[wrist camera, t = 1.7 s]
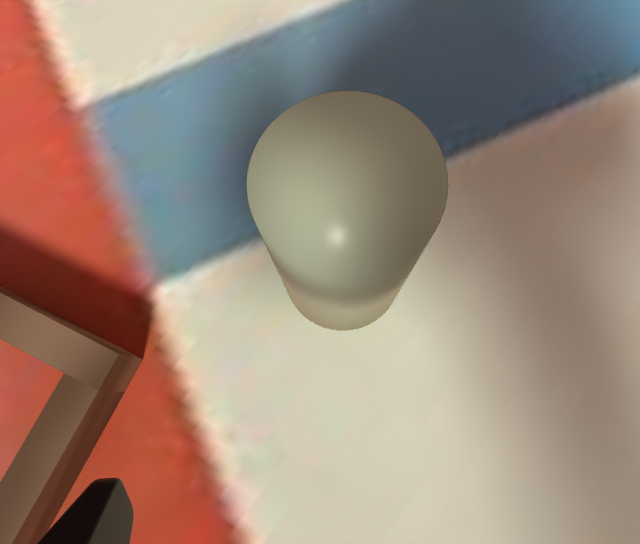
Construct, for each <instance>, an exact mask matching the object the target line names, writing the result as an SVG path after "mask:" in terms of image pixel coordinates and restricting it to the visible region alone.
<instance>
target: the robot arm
mask: <svg viewBox="0 0 640 544" xmlns="http://www.w3.org/2000/svg"><path fill="white" fill-rule="evenodd" d="M133 515H134V514H133V507H132V504H131V501H130V499H129V497H128V494H127V492H126V490H125V487H124V485H123V483H122V481H121V480H120V479H119V478H105V479H97V480H95V481H93V482H92V483H91V484H90V485H89V486H88V487H87V488H86V489H85V490H84V492H83V493H82V494H81V495H80V496H79V497H78V498H77V499H76V500H75V502H74V503H73V504H72V505H71V506H70V507H69V508H68V509H67V511H66V512H65V513H64V514H63V515H62V516H61V517H60V518H59V519H58V521H57V522H56V523H55V524H54V525H53V526H52V527H51V528H50V529H49V531H48V532H47V533H46V534H45V535H44V536H43V537H42V538H41V539H40V541H39V542H38V543H37V544H130V538H131V531H132V525H133Z"/></svg>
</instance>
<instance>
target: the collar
mask: <svg viewBox="0 0 640 544" xmlns="http://www.w3.org/2000/svg"><path fill="white" fill-rule="evenodd" d="M0 339H1V340H3V341H5V342H7V343H9V344H11V345H13V346H14V347H16V348H18V349H20V350H22V351H24V352H26V353H28V354H30V355H31V356H33V357H35V358H37V359H39V360H41V361H43V362H45V363H46V364H48V365H50V366H52V367H54V368H56V369H58V370H60V371H62V372H63V373H64V374H63V376H62V378H61V379H60V381H59V383H58V385H57V386H56V388H55V390H54V391H53V393H52V395H51V397H50V398H49V400H48V402H47V403H46V405H45V407H44V409H43V410H42V412H41V414H40V415H39V417H38V419H37V421H36V422H35V424H34V426H33V427H32V429H31V431H30V433H29V434H28V436H27V438H26V439H25V441H24V443H23V445H22V446H21V448H20V450H19V451H18V453H17V455H16V457H15V458H14V460H13V462H12V464H11V465H10V467H9V469H8V470H7V472H6V474H5V476H4V477H3V479H2V481H1V482H0V544H37V543H38V542H39V541H40V539H41V538H42V537H43V536H44V535H45V534H46V533H47V531H48V529H49V527H50V526H51V524H52V522H53V520H54V518H55V517H56V515H57V513H58V511H59V509H60V507H61V506H62V504H63V502H64V500H65V498H66V497H67V495H68V493H69V491H70V489H71V488H72V486H73V484H74V482H75V480H76V479H77V477H78V475H79V473H80V471H81V470H82V468H83V466H84V464H85V462H86V461H87V459H88V457H89V455H90V453H91V451H92V450H93V448H94V446H95V444H96V442H97V441H98V439H99V437H100V435H101V433H102V432H103V430H104V428H105V426H106V424H107V423H108V421H109V419H110V417H111V415H112V414H113V412H114V410H115V408H116V406H117V405H118V403H119V401H120V399H121V397H122V395H123V394H124V392H125V390H126V388H127V386H128V385H129V383H130V381H131V379H132V377H133V376H134V374H135V372H136V370H137V368H138V367H139V365H140V363H141V361H142V358H140V357H138V356H136V355H134V354H132V353H130V352H129V351H127V350H125V349H123V348H121V347H119V346H117V345H115V344H113V343H111V342H109V341H107V340H105V339H103V338H101V337H99V336H97V335H96V334H94V333H92V332H90V331H88V330H86V329H84V328H82V327H80V326H78V325H76V324H74V323H72V322H70V321H68V320H66V319H64V318H63V317H61V316H59V315H57V314H55V313H53V312H51V311H49V310H47V309H45V308H43V307H41V306H39V305H37V304H35V303H33V302H31V301H30V300H28V299H26V298H24V297H22V296H20V295H18V294H16V293H14V292H12V291H10V290H8V289H6V288H4V287H2V286H0Z"/></svg>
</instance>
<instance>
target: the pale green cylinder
mask: <svg viewBox="0 0 640 544" xmlns="http://www.w3.org/2000/svg"><path fill="white" fill-rule="evenodd" d="M447 194H448V175H447V169H446V164H445V160H444V157H443V154H442V151H441V149H440V147H439V145H438V143H437V141H436V139H435V137H434V136H433V135H432V133H431V132H430V130H429V129H428V128H427V127H426V125H425V124H424V123H423V122H422V121H421V120H420V119H419V118H418V117H417V116H415V115H414V114H413V113H412V112H411V111H409V110H408V109H406V108H405V107H403V106H401V105H400V104H398V103H396V102H394V101H392V100H390V99H387V98H385V97H382V96H379V95H376V94H371V93H366V92H359V91H336V92H329V93H324V94H320V95H316V96H313V97H310V98H308V99H305V100H303V101H301V102H299V103H297V104H295V105H293V106H292V107H290V108H289V109H287V110H286V111H285V112H283V113H282V114H281V115H280V116H278V117H277V118H276V119H275V120H274V121H273V122H272V123H271V124H270V125H269V127H268V128H267V129H266V130H265V131H264V133H263V134H262V136H261V138H260V139H259V141H258V142H257V145H256V147H255V149H254V151H253V153H252V156H251V160H250V163H249V168H248V174H247V195H248V202H249V206H250V210H251V213H252V216H253V218H254V221H255V223H256V225H257V227H258V230H259V232H260V234H261V236H262V238H263V240H264V243H265V245H266V247H267V249H268V251H269V253H270V255H271V258H272V260H273V262H274V264H275V266H276V268H277V270H278V273H279V275H280V277H281V279H282V281H283V283H284V286H285V288H286V290H287V292H288V294H289V296H290V298H291V300H292V302H293V304H294V305H295V307H296V308H297V309H298V310H299V312H300V313H301V314H302V315H303V316H305V317H306V318H307V319H308V320H310V321H311V322H313V323H315V324H317V325H319V326H321V327H324V328H328V329H332V330H353V329H358V328H361V327H364V326H366V325H369V324H371V323H372V322H374V321H376V320H377V319H378V318H379V317H381V316H382V315H383V314H384V313H385V312H386V311H387V310H388V308H389V307H390V306H391V304H392V303H393V301H394V299H395V297H396V296H397V294H398V292H399V291H400V289H401V287H402V286H403V284H404V282H405V281H406V279H407V277H408V276H409V274H410V272H411V270H412V269H413V267H414V265H415V264H416V262H417V260H418V259H419V257H420V255H421V254H422V252H423V250H424V249H425V247H426V245H427V244H428V242H429V240H430V238H431V237H432V235H433V233H434V232H435V230H436V228H437V226H438V224H439V222H440V220H441V218H442V215H443V212H444V210H445V205H446V201H447Z"/></svg>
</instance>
